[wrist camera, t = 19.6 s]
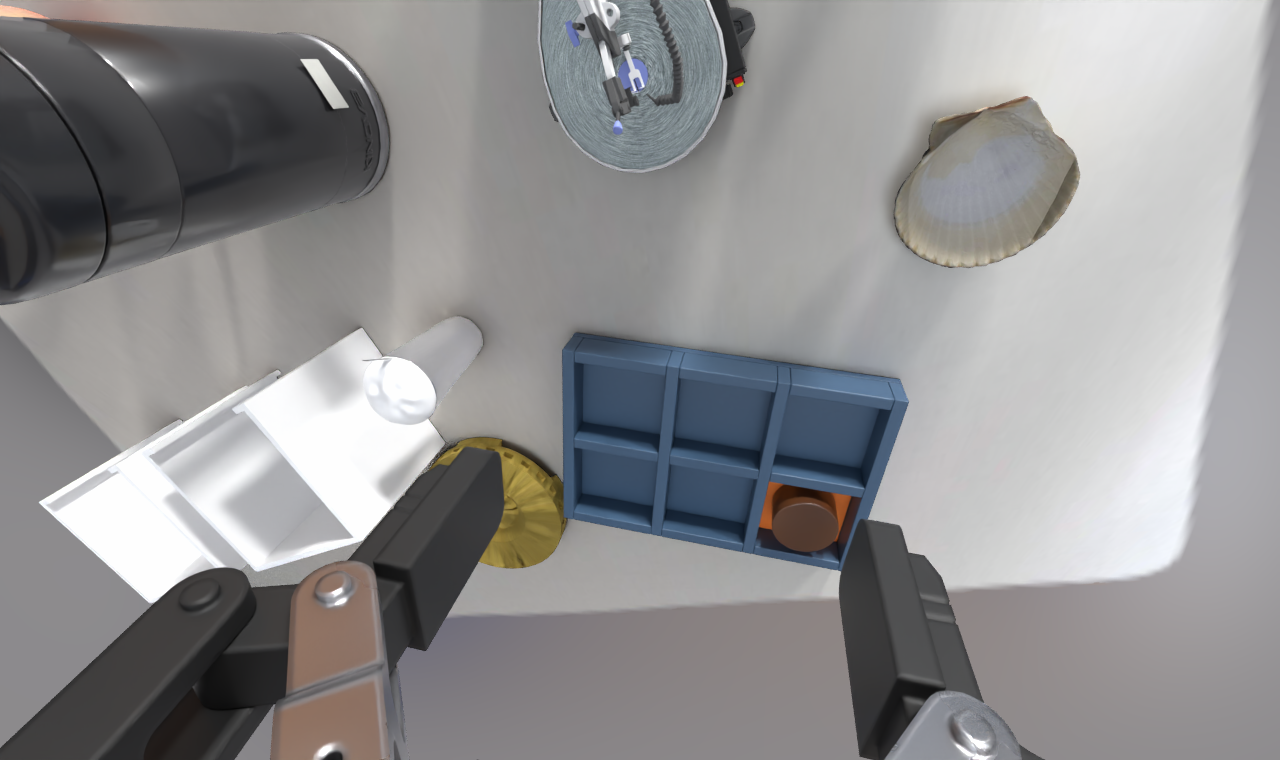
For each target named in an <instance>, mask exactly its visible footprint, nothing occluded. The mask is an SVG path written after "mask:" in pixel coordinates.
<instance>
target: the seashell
mask: <svg viewBox="0 0 1280 760" xmlns="http://www.w3.org/2000/svg"><path fill="white" fill-rule="evenodd" d="M929 145H930V146H929V149H928V150H927V151H926V152H925V153H924V155H923V157H922V160H921V161H920V163H919V164H918V165H917V166H916V168H915V169H914V171H912V173H910V175H909V176H908V177H907V178H906V180H905V181H904V183H903V184H902V186H901V188H900V189H899V191H898V195H897V197H896V200H895V209H894V219H895V226H896V230H897V232H898V235H899V236H900V238H901V240H902V242H903V243H905V245H906V247H907V248H909V249H911V250H912V251H913V252H914V253H915V254H917V255H918V256H919V257H921V258H923V259H924V260H927V261H929V262H931V263H934V264H938V265H941V266H944V267H948V268H953V267H966V268H971V267H975V266H986V265H987V264H990V263H994V262H999V261H1001V260H1003V259H1005V258H1007V257H1011V256H1014V255H1016V254H1017V253H1018V252H1019V251H1021V250H1023V249H1025V248H1027V247H1028V246H1030V245H1031V244H1033V243H1034V242H1035V241H1037V240H1038V239H1039V238H1041V237H1042V236H1044V235H1045V234H1046V232H1047V231H1048V230H1049V229H1051V228H1052V227H1053V226H1054V225H1055V223H1056V222H1057V221H1058V220H1059V219H1060V217H1061V216H1062V215H1063V214H1064V213H1065V211H1066V209H1067V207H1068V205H1069V204H1070V202H1071V200H1072V198H1073V196H1074V194H1075V192H1076V190H1077V187H1078V184H1079V179H1080V171H1079V167H1078V163H1077V158H1076V155H1075V153H1074V152H1073V150H1072V149H1071V148H1070V147H1069V146H1068V145H1067V144H1066V142H1065V141H1064V140H1063V139H1062V138H1060V137H1058V136H1057V135H1056V134H1054V132H1053V130H1052V127H1051V125H1050V123H1049V121H1048V120H1047V119H1046V118H1045V117H1044V116H1043V114H1042V111H1041V108H1040V107H1039V105H1038V103H1037V102H1036V101H1034V100H1033V99H1032V98H1031V97H1028V96H1025V97H1020V98H1017V99H1014V100H1011V101H1009V102H1006V103H1003V104H1000V105H998V106H995V107H985V108H981V109H979V110H977V111H975V112H969V113H962V114H955V115H951V116H946V117H942V118H939V119H938V120H936V121H935V122H934V124H933V125H932V130H931V133H930V135H929Z"/></svg>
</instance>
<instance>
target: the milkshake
mask: <svg viewBox="0 0 1280 760" xmlns="http://www.w3.org/2000/svg"><path fill="white" fill-rule="evenodd" d="M482 346H483V339H482V333H481V331H480V330H479V328H478V327H477V326H476V325H475V324H474V323H473V321H472V320H469V319H466V318H464V317H461V316H455V317H451V318H448V319H445V320H443V321H442V322H440V323H438V324H437V325H435V326H433V327H432V328H430V329H428V330H427V331H425V332H424V333H422V334H420V335H419V336H417V337H415V338H414V339H412V340H410V341H409V342H407V343H406V344H404V345H402V346H400V347H398V348H397V349H395V350H393V351H391V352H389V353H388V354H386V355H384V356H382V357H380V358H378V359H368V360H362V361H373V362H372V363H371V364H370V365H369V366H368V367H367V369H366V371H365V373H364V377H363V385H364V390H365V394H366V398H367V400H368V403H369V404H370V406H371V408H372V409H373V410H374V411H375V412H376V413H377V414H378V415H380V416H381V417H383V418H384V419H386V420H387V421H389V422H392V423H397V424H405V425H414V424H419V423H421V422H424V421H425V420H427V419H428V418H429V417H430V416H431V415H432V414H433V412H434V411H435V410H436V408H437V407H438V405H439V404H440V403H441V401H442V400H443V399H444V397H445V396H446V394H447V393H448V392H449V390H450V388H451V387H452V386H453V385H454V383H455V382H456V381H457V380H458V378H459V377H460V376H461V375H462V373H463V372H464V371H465V370H466V368H467V367H468V366H469V365H470V363H471V362H472V361H473V360H474V358H475V357H476V356H477V355H478V353H479V351H480V350H481V348H482Z"/></svg>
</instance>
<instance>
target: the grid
mask: <svg viewBox="0 0 1280 760" xmlns="http://www.w3.org/2000/svg"><path fill="white" fill-rule="evenodd" d="M562 377H563V487H564V518H570V519H575V520H580V521H585V522H590V523H595V524H600V525H606V526H611V527H616V528H621V529H626V530H631V531H637V532H642V533H647V534H652V535H657V536H662V537H668V538H673V539H678V540H683V541H688V542H693V543H698V544H704V545H709V546H714V547H719V548H724V549H729V550H735V551H740V552H745V553H751V554H755V555H761V556H766V557H771V558H776V559H781V560H786V561H792V562H797V563H802V564H807V565H812V566H817V567H822V568H828V569H833V570H838V571H842V567H843V564H844V561H845V558H846V555H847V553H848V550H849V547H850V544H851V541H852V538H853V535H854V532H855V529H856V526H857V524H858V522H859V520H860V519H867V520H868V517H869V514H870V511H871V509H872V506H873V503H874V500H875V497H876V494H877V491H878V489H879V486H880V483H881V480H882V477H883V474H884V472H885V469H886V466H887V463H888V460H889V457H890V454H891V452H892V449H893V446H894V443H895V440H896V437H897V434H898V432H899V429H900V426H901V423H902V420H903V417H904V415H905V412H906V409H907V406H908V403H909V401H908V398H907V396H906V394H905V391H904V389H903V386H902V384H901V381H900V379H894V378H887V377H880V376H873V375H866V374H859V373H852V372H846V371H839V370H832V369H825V368H818V367H811V366H804V365H797V364H790V363H783V362H776V361H769V360H762V359H755V358H749V357H742V356H735V355H728V354H721V353H714V352H707V351H700V350H693V349H686V348H679V347H672V346H665V345H659V344H652V343H645V342H638V341H631V340H624V339H617V338H610V337H603V336H596V335H589V334H582V333H574V335H573V336H572V338H571V339H570V340H569V342H568V343H567V344H566V346H565V347H564V348H563V350H562ZM783 485H791V486H797V487H803V488H808V489H814V490H820V491H825V492H831V494H832V495H833V497H834V499H835V504H836V511H837V517H838V524H839V532H838V535H837V537H836V539H835V540H834V541H833V543H831V544H830V545H829V546H827V547H826V548H824V549H821V550H818V551H812V552H802V551H796V550H793V549H790V548H788V547H786V546H784V545H783V544H782V543H780V542H779V541H778V540H777V538H776V537H775V535H774V533H773V531H772V498H773V496H774V494H775V492H776V491H777V490H778V489H779V488H780V487H781V486H783Z"/></svg>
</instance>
